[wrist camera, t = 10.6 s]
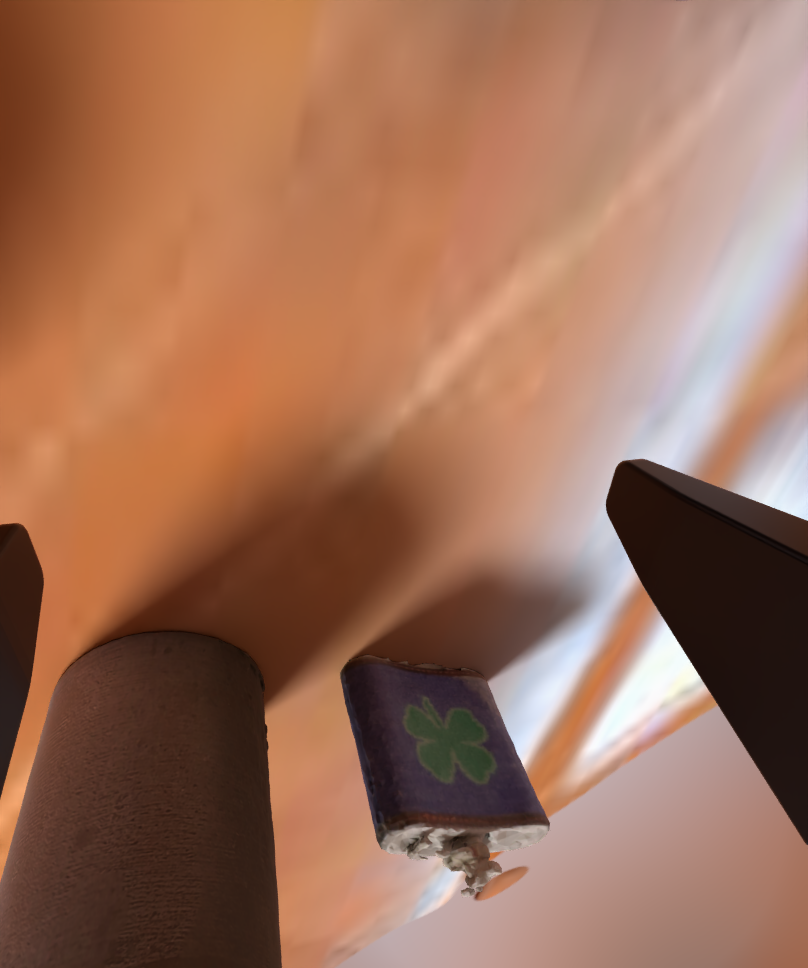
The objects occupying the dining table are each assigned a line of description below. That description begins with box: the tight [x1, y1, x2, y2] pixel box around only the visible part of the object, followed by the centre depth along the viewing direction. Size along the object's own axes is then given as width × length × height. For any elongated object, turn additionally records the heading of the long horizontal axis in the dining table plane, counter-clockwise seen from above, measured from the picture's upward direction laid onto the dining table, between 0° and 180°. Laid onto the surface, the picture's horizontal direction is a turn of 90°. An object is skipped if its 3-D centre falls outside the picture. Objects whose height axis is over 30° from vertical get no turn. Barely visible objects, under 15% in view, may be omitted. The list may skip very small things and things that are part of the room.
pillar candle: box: [0, 632, 282, 968], centre depth 23 cm, size 10×10×15 cm
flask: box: [340, 655, 550, 897], centre depth 29 cm, size 9×3×11 cm, turn 62°
